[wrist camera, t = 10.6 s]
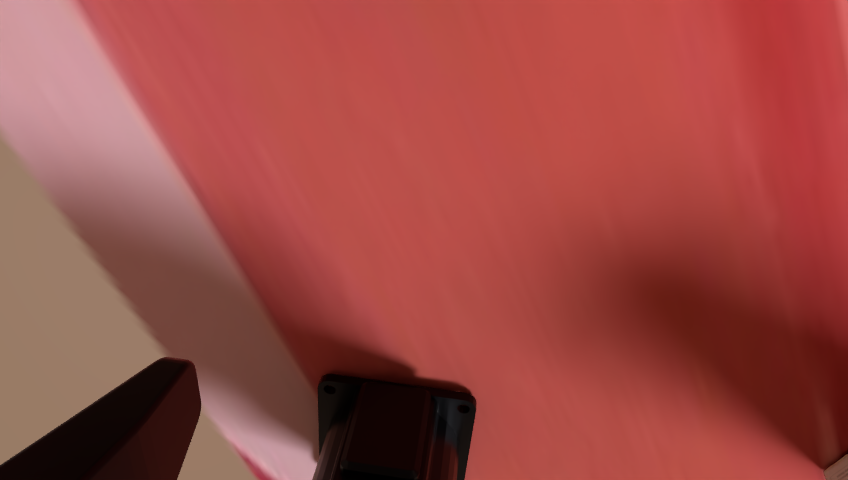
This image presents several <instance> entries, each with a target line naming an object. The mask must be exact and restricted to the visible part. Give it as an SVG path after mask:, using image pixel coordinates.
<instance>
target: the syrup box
mask: <svg viewBox="0 0 848 480" xmlns="http://www.w3.org/2000/svg"><path fill="white" fill-rule="evenodd" d="M824 476H825V478H826V480H848V454H847V455H845V456H844V457H842V458H841V459H840V460H838V461H837V462H836V463H834V464H833V465H831V466H830V467H829V468H827V469H826V470H825V471H824Z"/></svg>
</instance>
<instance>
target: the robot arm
mask: <svg viewBox="0 0 848 480" xmlns="http://www.w3.org/2000/svg"><path fill="white" fill-rule="evenodd" d="M328 385H330V386H333V387H330V386H328ZM462 405H467V406H462ZM200 411H201V398H200V392H199V386H198V380H197V374H196V369H195V365H194V364H193V363H192V362H191V361H189V360H184V359H177V358H170V357H164V358H161V359H159V360H157V361H155V362H154V363H152V364H151V365H149V366H148V367H147V368H145V369H143V370H142V371H140V372H139V373H137V374H136V375H134V376H133V377H131V378H130V379H128V380H127V381H126V382H124V383H122V384H121V385H120V386H118V387H116V388H115V389H114V390H112V391H110V392H109V393H108V394H106V395H104V396H103V397H101V398H100V399H98V400H97V401H95V402H94V403H93V404H91V405H90V406H88V407H87V408H85V409H84V410H82V411H81V412H79V413H78V414H76V415H75V416H73V417H72V418H70V419H69V420H67V421H66V422H64V423H63V424H61V425H60V426H58V427H57V428H55V429H54V430H52V431H51V432H49V433H48V434H47V435H45V436H43V437H42V438H41V439H39V440H37V441H36V442H35V443H33V444H31V445H30V446H29V447H27V448H25V449H24V450H22V451H21V452H19V453H18V454H16V455H15V456H14V457H12V458H10V459H9V460H7V461H6V462H4V463H3V464H2V465H0V480H177V478H178V475H179V472H180V470H181V467H182V464H183V461H184V459H185V456H186V453H187V450H188V447H189V445H190V442H191V439H192V436H193V433H194V431H195V428H196V425H197V422H198V419H199V416H200ZM475 413H476V399H475V398H474V397H473V396H472V395H470V394H467V393H462V392H455V391H448V390H441V389H434V388H427V387H420V386H413V385H406V384H399V383H392V382H385V381H378V380H371V379H364V378H357V377H350V376H343V375H335V374H326V375H324V376H322V377H321V380H320V382H319V385H318V415H319V455H320V457H319V460H318V463H317V467H316V470H315V473H314V476H313V479H312V480H464V478H465V472H466V466H467V460H468V455H469V449H470V443H471V437H472V431H473V425H474V419H475Z"/></svg>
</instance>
